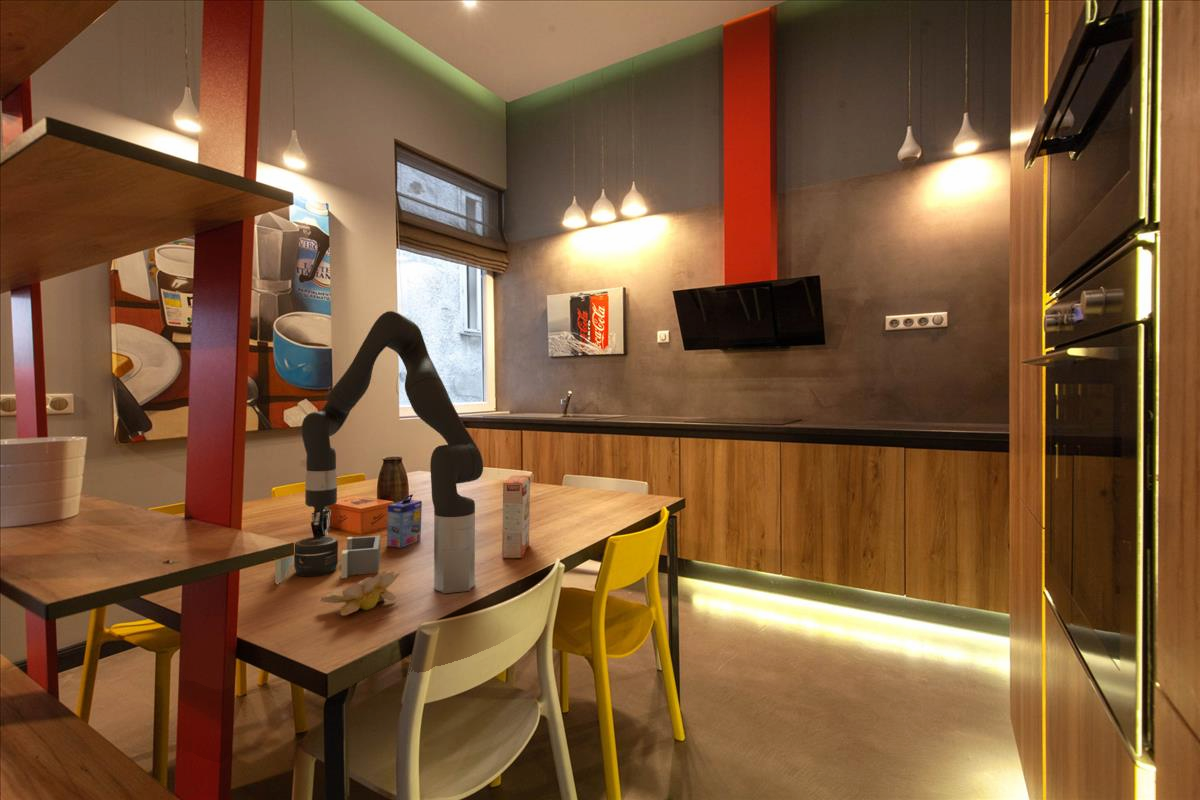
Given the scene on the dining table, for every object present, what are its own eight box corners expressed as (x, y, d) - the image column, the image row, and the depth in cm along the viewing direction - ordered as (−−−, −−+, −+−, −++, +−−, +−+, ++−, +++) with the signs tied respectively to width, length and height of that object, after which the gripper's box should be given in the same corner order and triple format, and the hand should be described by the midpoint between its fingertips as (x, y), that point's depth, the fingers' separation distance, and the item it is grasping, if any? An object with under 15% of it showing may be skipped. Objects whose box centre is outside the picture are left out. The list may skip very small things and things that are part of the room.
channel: (377, 574, 139) (377, 550, 139) (275, 584, 132) (275, 559, 132) (380, 556, 155) (380, 534, 154) (288, 564, 147) (288, 541, 147)
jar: (284, 575, 138) (284, 544, 138) (313, 563, 148) (313, 534, 148) (319, 579, 136) (319, 547, 136) (346, 566, 146) (346, 537, 146)
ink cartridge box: (402, 548, 162) (402, 498, 162) (386, 546, 164) (385, 497, 164) (422, 539, 172) (422, 492, 172) (407, 538, 173) (407, 491, 173)
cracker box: (523, 559, 153) (523, 482, 152) (501, 559, 153) (501, 482, 152) (530, 545, 167) (531, 474, 166) (510, 544, 167) (510, 474, 166)
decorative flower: (380, 581, 130) (383, 541, 128) (409, 603, 123) (412, 562, 121) (314, 605, 118) (316, 562, 116) (342, 632, 111) (345, 587, 109)
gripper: (332, 490, 144) (331, 558, 144) (341, 481, 157) (340, 543, 157) (299, 491, 142) (299, 560, 142) (311, 482, 154) (311, 545, 155)
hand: (321, 551), depth 150 cm, fingers closed
